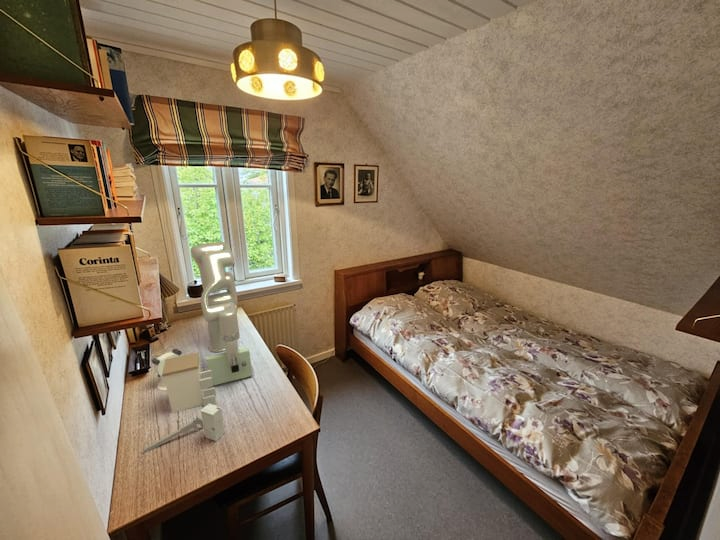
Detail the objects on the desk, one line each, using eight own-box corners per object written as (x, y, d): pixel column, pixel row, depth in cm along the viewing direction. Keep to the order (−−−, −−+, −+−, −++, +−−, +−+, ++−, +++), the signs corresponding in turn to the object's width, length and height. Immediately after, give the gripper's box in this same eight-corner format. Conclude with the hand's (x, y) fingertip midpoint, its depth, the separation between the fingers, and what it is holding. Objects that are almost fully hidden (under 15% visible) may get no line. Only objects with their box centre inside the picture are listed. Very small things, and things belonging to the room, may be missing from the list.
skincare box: (204, 436, 117) (198, 410, 113) (213, 428, 121) (208, 402, 117) (216, 441, 115) (211, 415, 111) (225, 432, 119) (221, 406, 115)
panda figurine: (178, 371, 155) (172, 345, 150) (191, 379, 149) (186, 351, 145) (152, 385, 145) (145, 357, 140) (166, 393, 139) (159, 365, 135)
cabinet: (173, 396, 138) (165, 359, 132) (215, 386, 144) (209, 350, 138) (170, 416, 127) (161, 376, 121) (215, 403, 133) (209, 365, 128)
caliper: (203, 427, 122) (201, 414, 120) (204, 429, 121) (201, 416, 119) (140, 452, 111) (136, 439, 109) (140, 455, 110) (136, 441, 108)
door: (211, 381, 145) (206, 356, 140) (251, 372, 152) (248, 347, 147) (211, 387, 141) (206, 361, 137) (252, 377, 148) (249, 352, 144)
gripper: (220, 328, 146) (225, 361, 152) (222, 346, 132) (227, 382, 138) (237, 325, 149) (242, 358, 155) (240, 342, 135) (245, 377, 141)
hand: (235, 369), depth 146 cm, fingers closed on door, 3 cm apart
